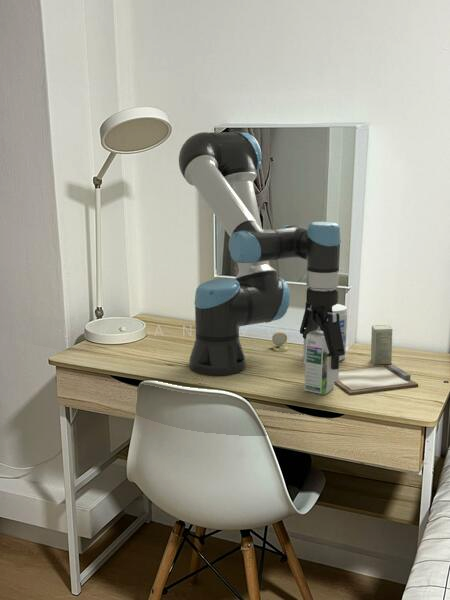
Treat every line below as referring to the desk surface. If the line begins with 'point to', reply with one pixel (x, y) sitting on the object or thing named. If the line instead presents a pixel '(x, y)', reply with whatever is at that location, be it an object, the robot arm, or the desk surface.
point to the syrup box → (316, 364)
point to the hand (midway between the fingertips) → (320, 372)
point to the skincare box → (381, 344)
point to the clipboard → (374, 379)
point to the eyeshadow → (279, 342)
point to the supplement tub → (341, 323)
